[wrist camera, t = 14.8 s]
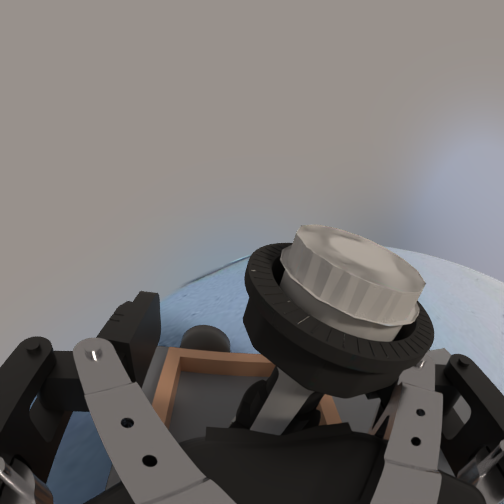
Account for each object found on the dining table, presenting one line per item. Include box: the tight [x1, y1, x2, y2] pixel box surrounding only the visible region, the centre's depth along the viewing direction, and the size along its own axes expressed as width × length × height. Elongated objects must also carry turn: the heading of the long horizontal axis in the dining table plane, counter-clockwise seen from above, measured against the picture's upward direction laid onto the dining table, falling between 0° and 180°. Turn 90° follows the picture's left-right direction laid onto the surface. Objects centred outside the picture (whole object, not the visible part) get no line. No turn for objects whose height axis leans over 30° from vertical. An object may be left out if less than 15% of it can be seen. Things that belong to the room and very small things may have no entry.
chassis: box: [105, 325, 471, 491], centre depth 11 cm, size 22×17×4 cm
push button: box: [228, 225, 434, 435], centre depth 9 cm, size 7×5×10 cm
